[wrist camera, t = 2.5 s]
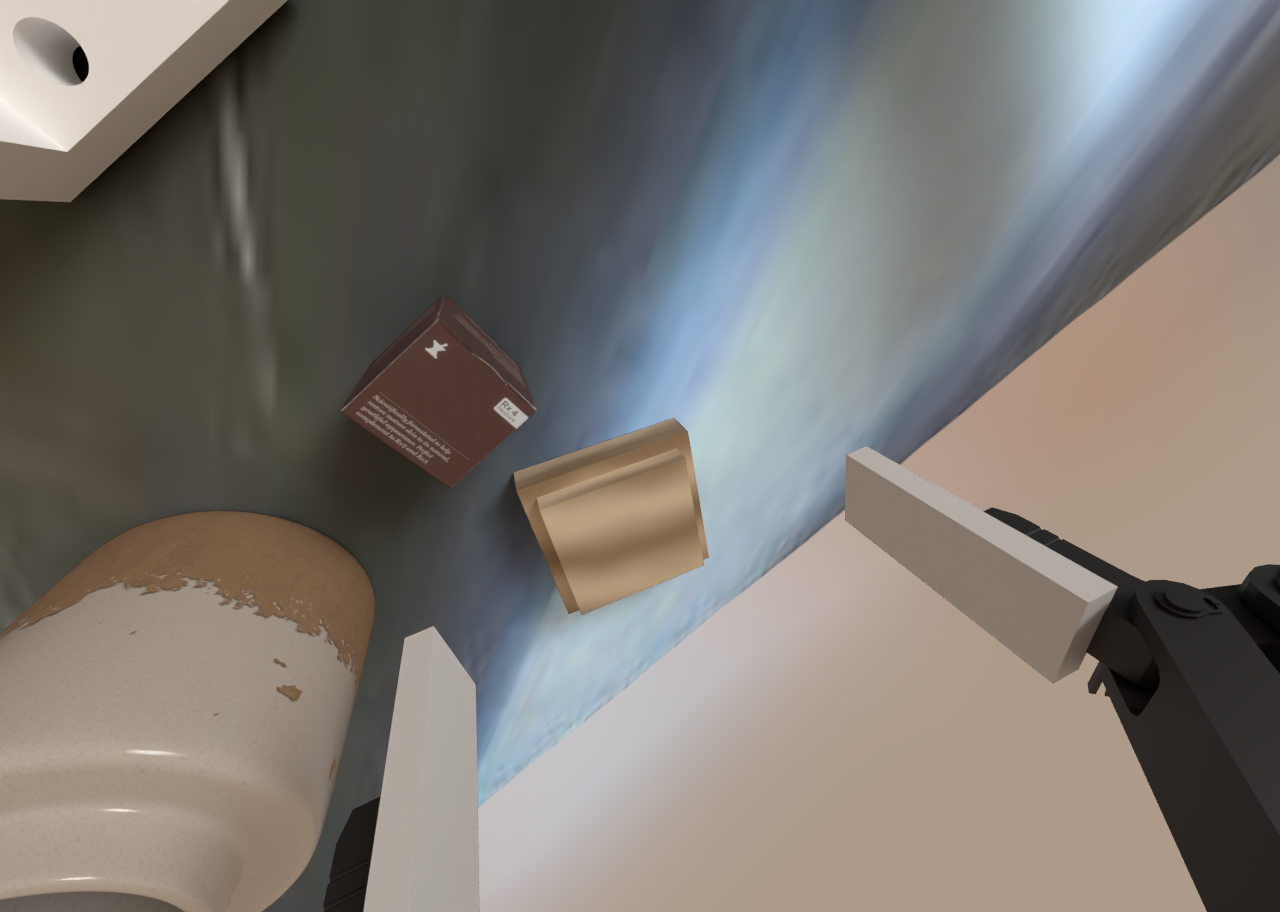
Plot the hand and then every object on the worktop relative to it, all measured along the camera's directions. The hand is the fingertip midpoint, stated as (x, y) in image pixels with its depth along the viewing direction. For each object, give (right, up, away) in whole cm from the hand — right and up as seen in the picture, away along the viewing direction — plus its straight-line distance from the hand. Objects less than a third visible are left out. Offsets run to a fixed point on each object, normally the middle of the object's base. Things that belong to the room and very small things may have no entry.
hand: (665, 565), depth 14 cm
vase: (-27, -6, +16) cm, 31 cm away
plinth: (-3, -1, +21) cm, 22 cm away
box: (-12, +9, +13) cm, 20 cm away
